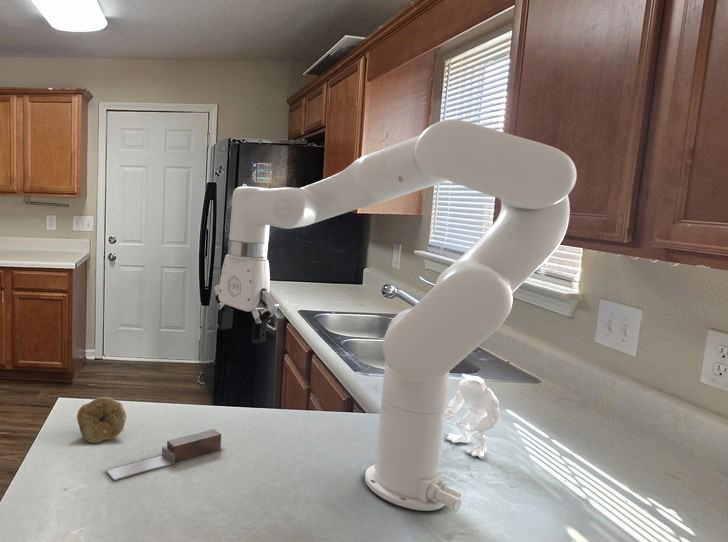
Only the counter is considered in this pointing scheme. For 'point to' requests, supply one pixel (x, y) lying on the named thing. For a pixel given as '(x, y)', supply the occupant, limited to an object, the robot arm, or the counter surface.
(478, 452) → the figurine
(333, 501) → the counter surface
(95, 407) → the fossil
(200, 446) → the knife
